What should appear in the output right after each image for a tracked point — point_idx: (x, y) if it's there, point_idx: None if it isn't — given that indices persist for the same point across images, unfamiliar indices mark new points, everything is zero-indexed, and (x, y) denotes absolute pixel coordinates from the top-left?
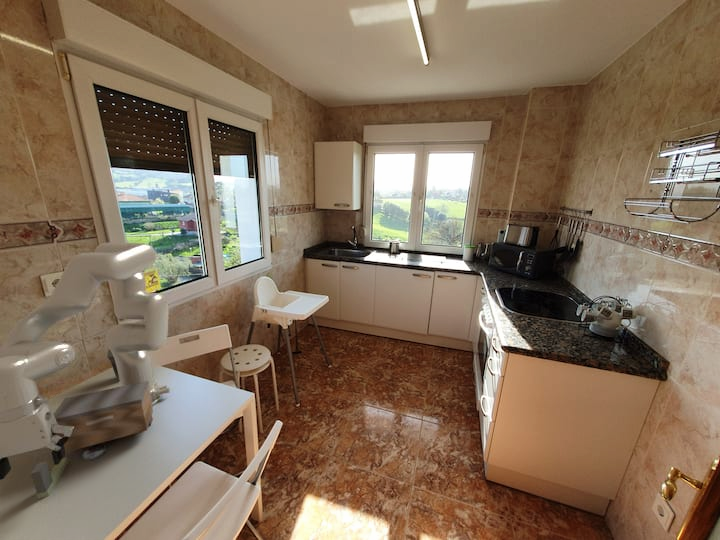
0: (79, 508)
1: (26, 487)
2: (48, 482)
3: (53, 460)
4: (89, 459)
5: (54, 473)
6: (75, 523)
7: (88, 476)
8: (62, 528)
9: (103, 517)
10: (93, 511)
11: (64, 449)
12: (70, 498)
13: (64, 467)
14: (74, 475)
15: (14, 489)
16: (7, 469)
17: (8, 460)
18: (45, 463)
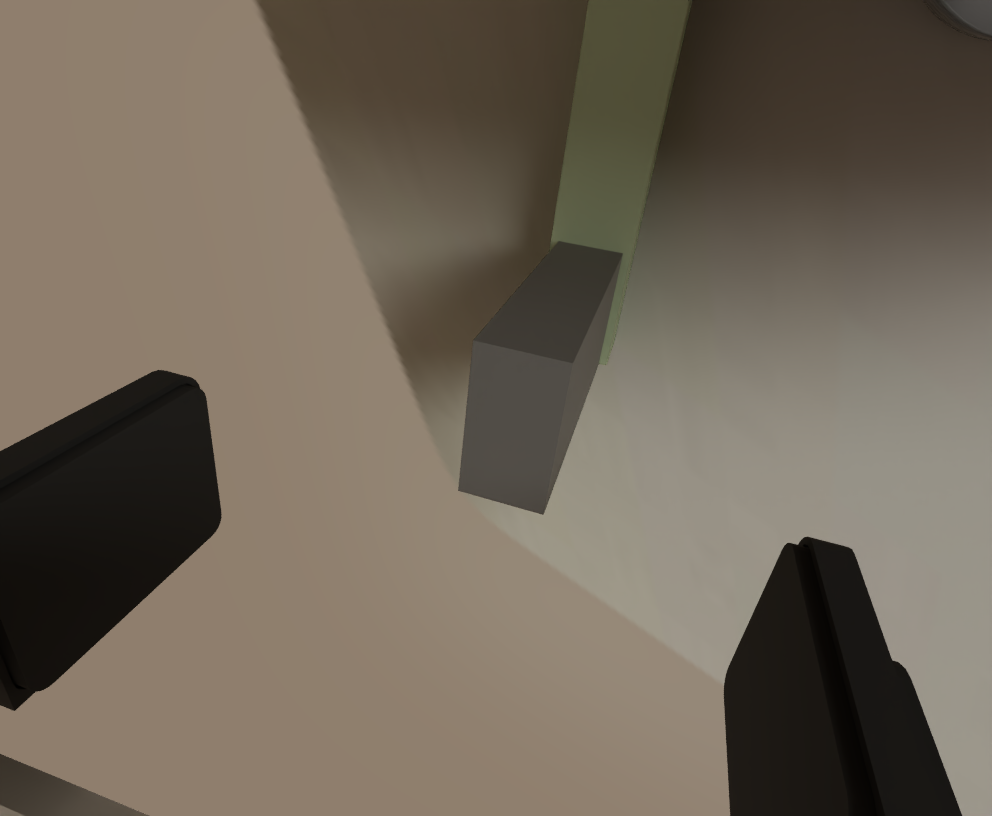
0: None
1: (416, 113)
2: (603, 326)
3: (729, 767)
4: (977, 35)
5: (620, 137)
6: None
7: (914, 316)
8: None
9: (952, 755)
10: None
11: (929, 758)
12: (764, 478)
13: (691, 2)
14: (791, 210)
15: (331, 77)
16: (171, 469)
17: (60, 474)
18: (569, 380)
